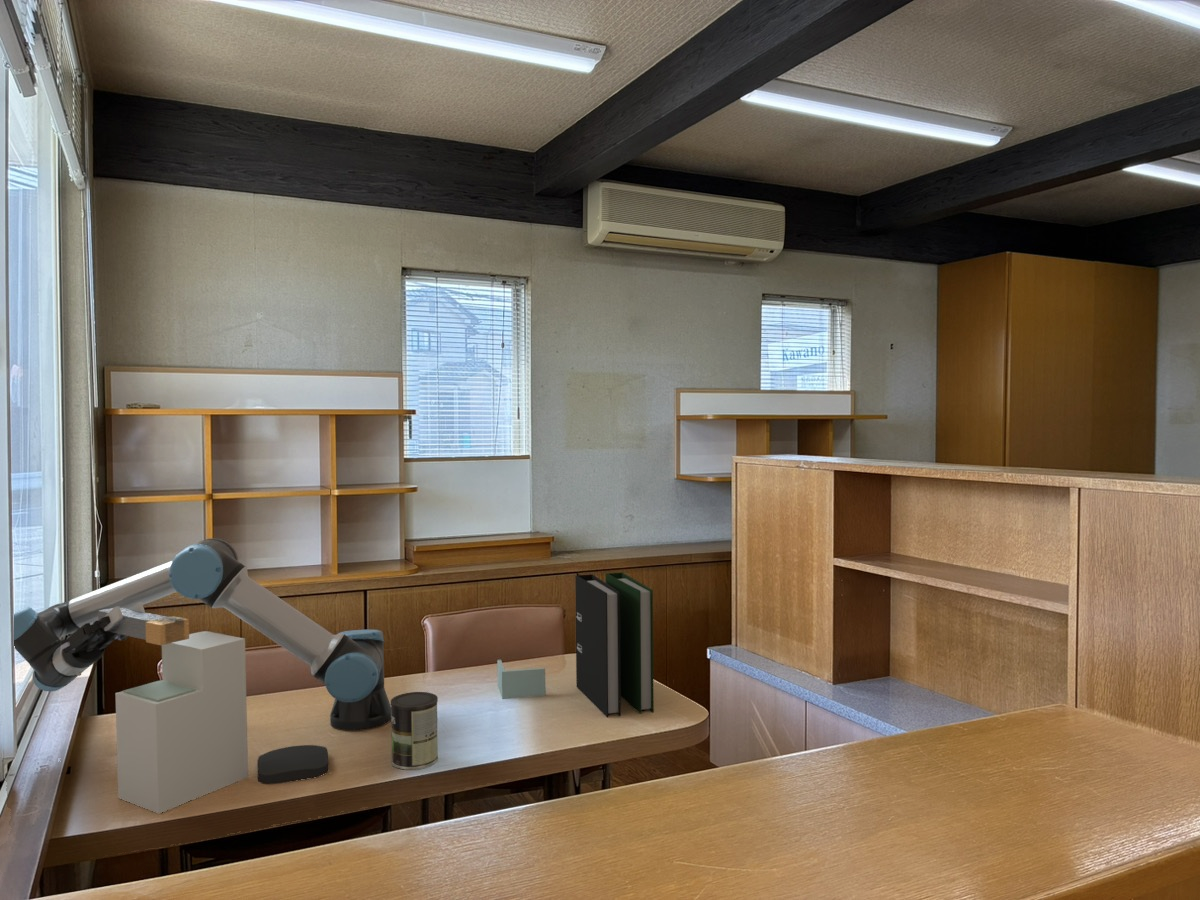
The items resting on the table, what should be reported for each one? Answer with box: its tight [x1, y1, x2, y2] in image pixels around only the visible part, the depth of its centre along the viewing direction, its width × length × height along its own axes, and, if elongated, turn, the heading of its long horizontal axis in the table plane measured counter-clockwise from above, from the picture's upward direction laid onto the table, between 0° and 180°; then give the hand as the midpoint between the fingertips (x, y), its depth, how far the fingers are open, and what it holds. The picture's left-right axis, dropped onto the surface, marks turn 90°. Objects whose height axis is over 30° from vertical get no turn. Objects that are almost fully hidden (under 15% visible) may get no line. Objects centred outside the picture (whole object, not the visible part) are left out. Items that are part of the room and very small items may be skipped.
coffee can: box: [390, 691, 439, 771], centre depth 192 cm, size 10×10×14 cm
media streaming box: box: [256, 744, 329, 785], centre depth 189 cm, size 15×15×3 cm
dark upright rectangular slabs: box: [574, 572, 655, 718], centre depth 233 cm, size 27×15×32 cm, turn 17°
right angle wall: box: [496, 659, 547, 700], centre depth 242 cm, size 12×12×8 cm
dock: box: [114, 630, 249, 815], centre depth 179 cm, size 14×20×30 cm
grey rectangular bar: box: [98, 608, 190, 646], centre depth 177 cm, size 24×6×4 cm, turn 59°
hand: (130, 610), depth 179 cm, fingers closed on grey rectangular bar, 4 cm apart
